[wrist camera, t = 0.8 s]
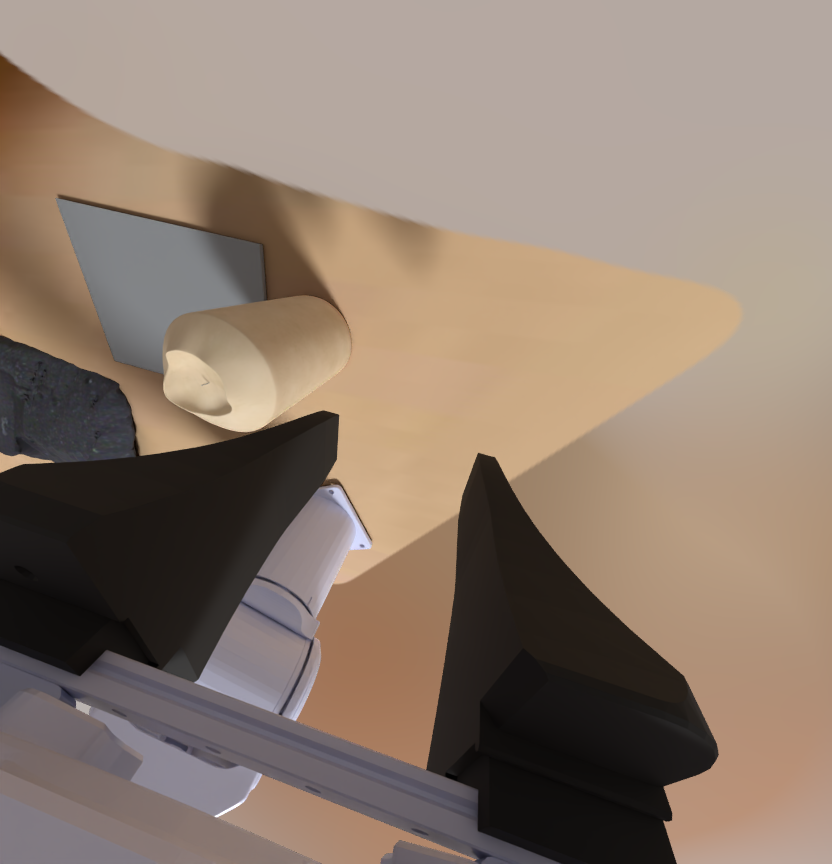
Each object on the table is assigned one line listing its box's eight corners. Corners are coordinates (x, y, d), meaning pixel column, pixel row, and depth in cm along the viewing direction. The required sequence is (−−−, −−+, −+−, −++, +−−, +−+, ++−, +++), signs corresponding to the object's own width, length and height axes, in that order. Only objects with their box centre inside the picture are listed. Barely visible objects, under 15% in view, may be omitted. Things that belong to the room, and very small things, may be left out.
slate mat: (262, 244, 18) (259, 243, 18) (274, 402, 24) (272, 404, 23) (61, 198, 19) (55, 197, 19) (118, 359, 25) (114, 360, 25)
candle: (298, 381, 22) (182, 453, 14) (265, 305, 20) (100, 335, 11) (363, 369, 21) (276, 442, 12) (336, 284, 18) (204, 301, 10)
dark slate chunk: (164, 496, 34) (121, 527, 30) (-2, 432, 35) (-65, 454, 31) (134, 379, 26) (70, 399, 22) (-80, 300, 27) (-179, 306, 23)
